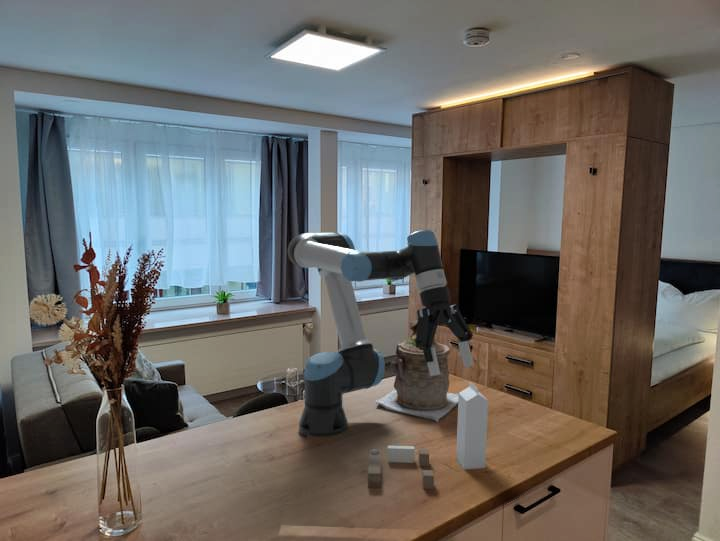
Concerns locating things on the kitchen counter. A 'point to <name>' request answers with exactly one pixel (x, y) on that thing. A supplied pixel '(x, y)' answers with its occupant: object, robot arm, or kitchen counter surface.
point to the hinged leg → (374, 469)
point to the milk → (472, 428)
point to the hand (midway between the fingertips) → (452, 370)
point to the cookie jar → (420, 382)
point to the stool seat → (407, 456)
